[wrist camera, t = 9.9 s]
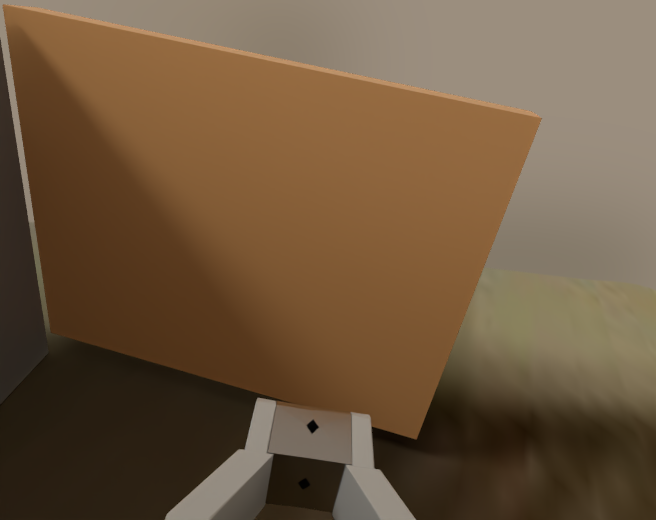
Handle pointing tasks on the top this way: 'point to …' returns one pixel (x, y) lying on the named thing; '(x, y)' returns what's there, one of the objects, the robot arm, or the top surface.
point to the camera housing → (16, 264)
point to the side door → (258, 211)
